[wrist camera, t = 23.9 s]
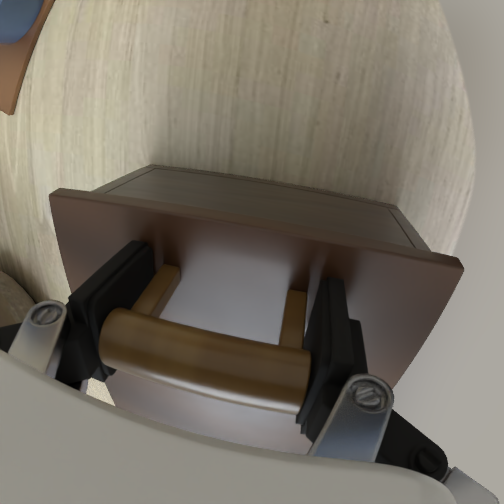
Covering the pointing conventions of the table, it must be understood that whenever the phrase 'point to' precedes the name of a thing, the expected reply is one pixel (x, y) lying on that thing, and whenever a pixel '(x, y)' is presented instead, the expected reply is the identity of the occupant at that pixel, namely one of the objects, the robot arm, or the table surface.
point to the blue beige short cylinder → (17, 18)
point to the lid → (241, 310)
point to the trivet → (18, 61)
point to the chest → (269, 202)
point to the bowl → (13, 301)
